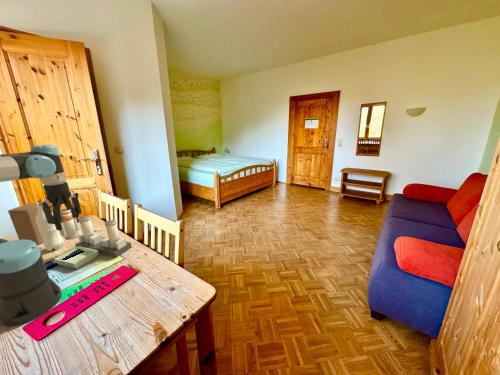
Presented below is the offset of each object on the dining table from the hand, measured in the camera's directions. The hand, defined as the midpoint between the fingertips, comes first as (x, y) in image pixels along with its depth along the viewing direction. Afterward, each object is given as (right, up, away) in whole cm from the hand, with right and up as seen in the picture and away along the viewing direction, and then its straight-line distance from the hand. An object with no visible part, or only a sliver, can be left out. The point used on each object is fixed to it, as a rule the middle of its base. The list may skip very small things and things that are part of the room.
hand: (70, 232), depth 91 cm
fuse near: (+14, -9, +10) cm, 19 cm away
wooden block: (-36, -9, +21) cm, 43 cm away
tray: (0, -14, +4) cm, 14 cm away
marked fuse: (0, -2, +1) cm, 2 cm away
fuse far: (-2, -7, +14) cm, 16 cm away
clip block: (+6, -11, +13) cm, 18 cm away
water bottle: (-20, -11, +14) cm, 27 cm away
